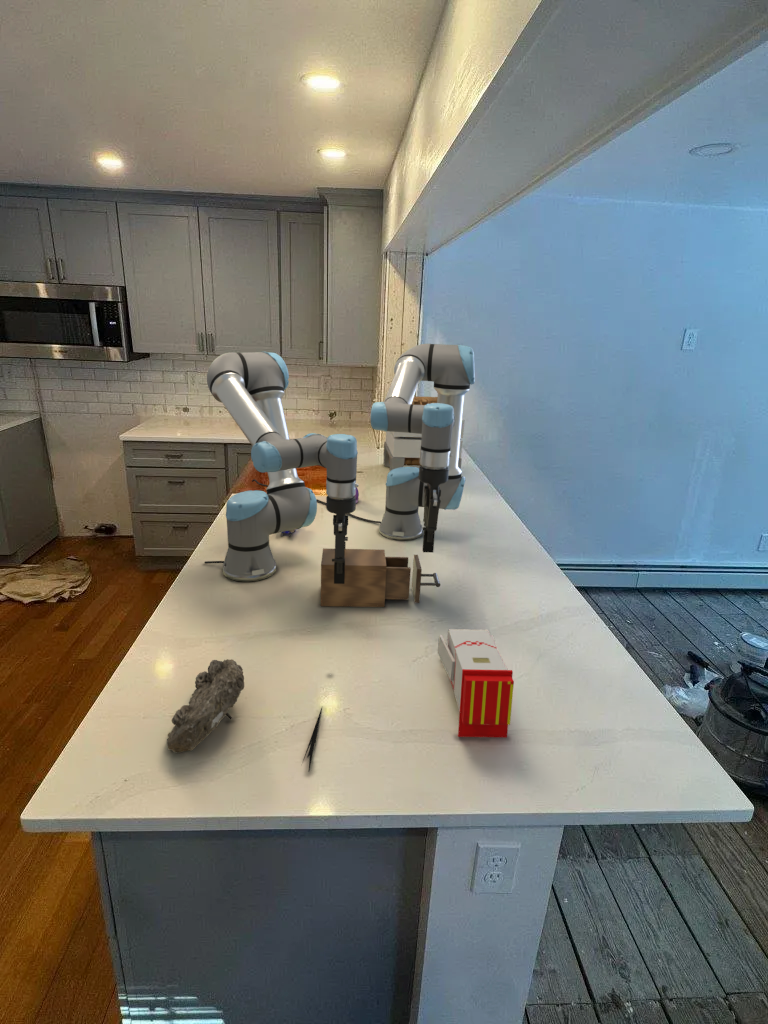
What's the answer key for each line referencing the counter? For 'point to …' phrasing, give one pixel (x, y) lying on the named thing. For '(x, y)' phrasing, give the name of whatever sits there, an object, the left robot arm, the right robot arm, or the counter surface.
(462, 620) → the counter surface
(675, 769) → the counter surface
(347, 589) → the cabinet
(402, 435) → the grey box
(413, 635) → the counter surface
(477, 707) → the toy
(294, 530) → the figurine character
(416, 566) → the drawer
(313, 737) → the feather
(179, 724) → the fossil
